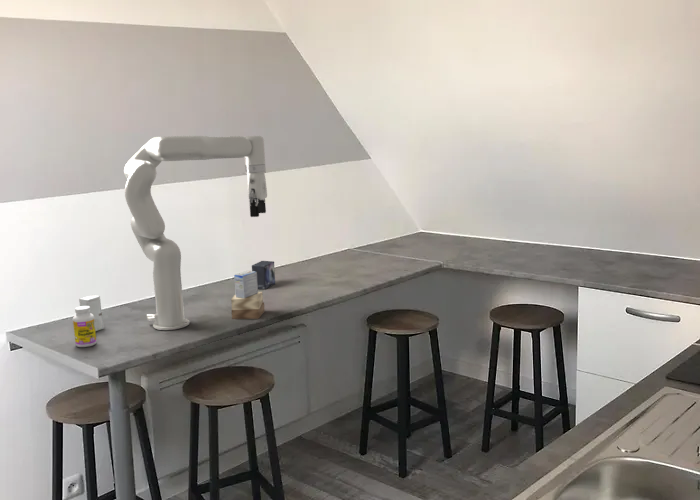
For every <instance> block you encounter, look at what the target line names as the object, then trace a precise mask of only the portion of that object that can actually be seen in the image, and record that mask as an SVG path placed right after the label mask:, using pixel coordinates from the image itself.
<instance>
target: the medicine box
mask: <svg viewBox="0 0 700 500" xmlns="http://www.w3.org/2000/svg"><path fill="white" fill-rule="evenodd" d="M233 276H234V277H233V278H234V292H235V294H236V297H238V298H247V297H249V296H252V295H255V294H257V293H258V292H259V289H258V286H257V272H255V271H252V270H246V271H243V272H239V273H236V274H234V275H233ZM235 294H234V295H235Z"/></svg>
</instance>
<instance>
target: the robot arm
mask: <svg viewBox="0 0 700 500" xmlns="http://www.w3.org/2000/svg"><path fill="white" fill-rule="evenodd" d="M265 153H266V152H265V140H264V137H263V136H261V135H248V136H239V135H238V136H236V135H235V136H221V137H220V136H219V137H218V136H206V135H205V136H204V135H189V136H188V135H187V136H186V135H183V136H182V135H181V136H178V135H177V136H173V135H172V136H154V137H152V138H151V139H149V140H148V141H147V142H146V143H145V144H144V145H143V146H141V148H140V149H138V151H137V152H136V153H135V154H134V155H133V156H132V157H131V158H130V159H129V160H128V161H127V163H126V164H125V166H124V169H123V173H124V176H125V179H126V180H127V181H126V182H125V186H124V187H125V188H124V197H125V202H126V204H127V206H128V208H129V210H130V214H131V215H132V217H131V219H130V227H131V230H132V232H133V235H134V236H135V238H136V240H137V243H138V245H139V247H140V248H141V250H142V252H143V254H144V255H145V257H146V259H148V260H150V261H151V262H153V271H152V274H153V275H152V278H153V286H154V287H153V289H154V298H155V299H154V300H155V311H156V313H155V314H154V313H148V314H146V319H147V321H148V322H149V321H150V322H151V321H152V322H153V324H152V327H153V328H154V329H155V330H158V331H172V330H173V331H174V330H178V329H183V328H185V327H187V326H188V325H190V320H189V319H188V318H185V309H184V297H183V288H182V287H183V286H182V285H183V283H182V276H181V275H182V274H181V273H182V272H181V265H182V264H181V263H182V261H181V260H182V254H181V253H182V252H181V249H180V247H179V245H178V244H177V243H176V242H175V241H174V240H171V239H170V238H166V236H165V234H164V233H165V230H166V225H165V221H164V219H163V217H162V215H161V213H160V211H159V209H158V207H157V206H156V203H155V201H154V199H153V196H152V192H151V191H152V185H153V183H154V181H155V180H156V177H157V167H158V166H159V165H160V164H161V163H162V162H179V161H207V160H215V159H241V158H243V159H244V167H245V168H244V170H245V171H244V172H245V174H246V175H247V195H248V196H247V197H248V202H249V215H250V217H251V218H258V217H259V216H260V214H266V212H267V210H266V209H267V208H266V198H267V197H268V190H267V181H266V175H265V174H266V173H267V172H266V171H267V170H266V155H265Z"/></svg>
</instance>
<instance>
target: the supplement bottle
mask: <svg viewBox="0 0 700 500" xmlns="http://www.w3.org/2000/svg"><path fill="white" fill-rule="evenodd" d="M74 312H75V315H74V316H73V317H72V324H73V332H74V334H73V335H74V342H75V346H76V347H78V348H88V347H92V346H94V345H96V343H97V334H96V332H97V331H95V321H94V315H93V314H91V313H90V306H80V305H79V306H77V307H75V308H74Z"/></svg>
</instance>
